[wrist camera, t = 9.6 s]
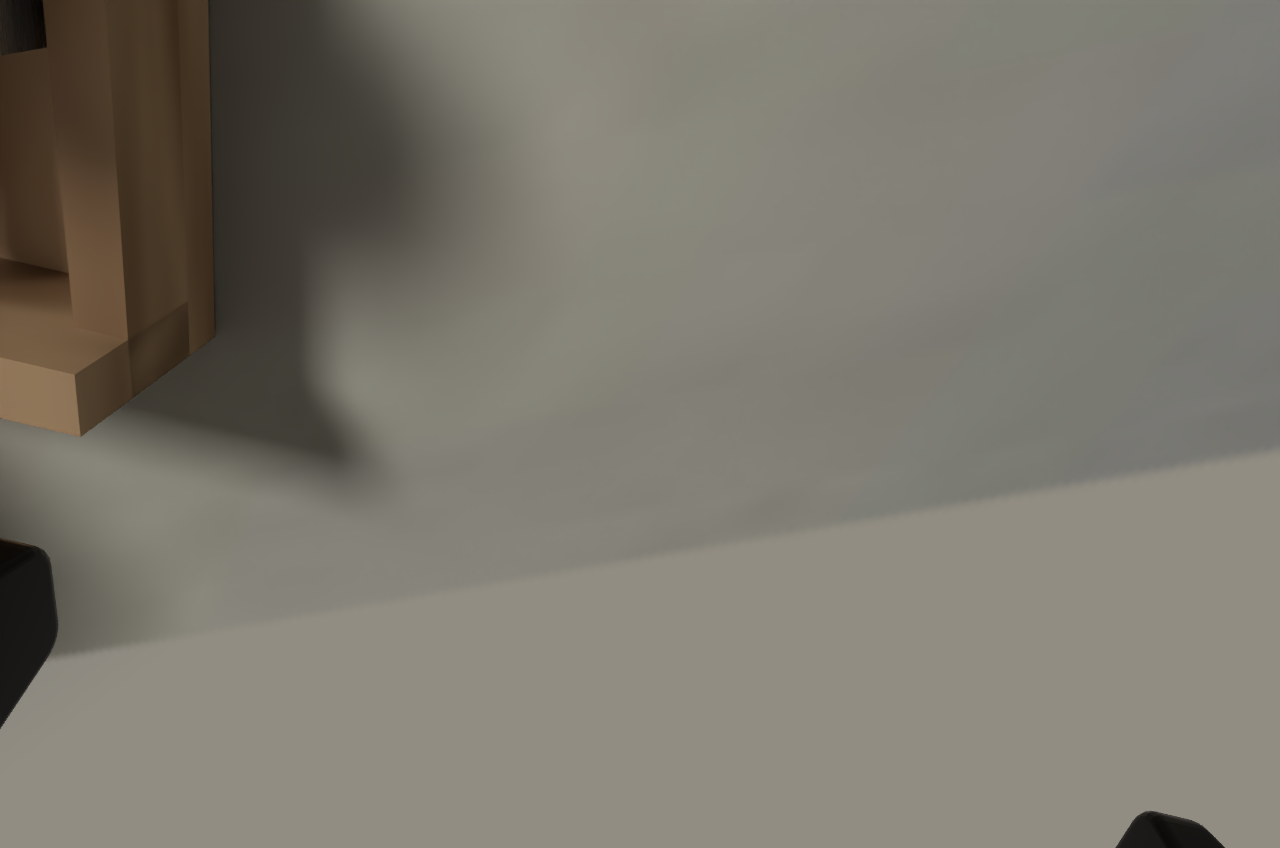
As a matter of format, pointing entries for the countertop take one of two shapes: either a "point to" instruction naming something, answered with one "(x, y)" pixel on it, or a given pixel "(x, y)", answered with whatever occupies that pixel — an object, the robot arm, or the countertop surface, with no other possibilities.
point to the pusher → (21, 26)
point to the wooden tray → (104, 208)
